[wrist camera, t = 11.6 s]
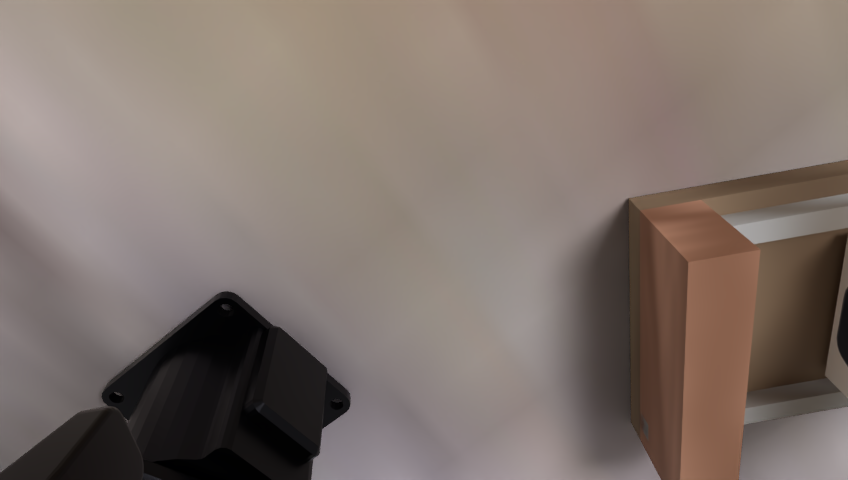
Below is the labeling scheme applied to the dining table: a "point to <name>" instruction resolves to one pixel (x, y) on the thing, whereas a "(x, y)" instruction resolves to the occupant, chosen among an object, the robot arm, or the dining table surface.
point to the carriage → (836, 368)
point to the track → (778, 276)
